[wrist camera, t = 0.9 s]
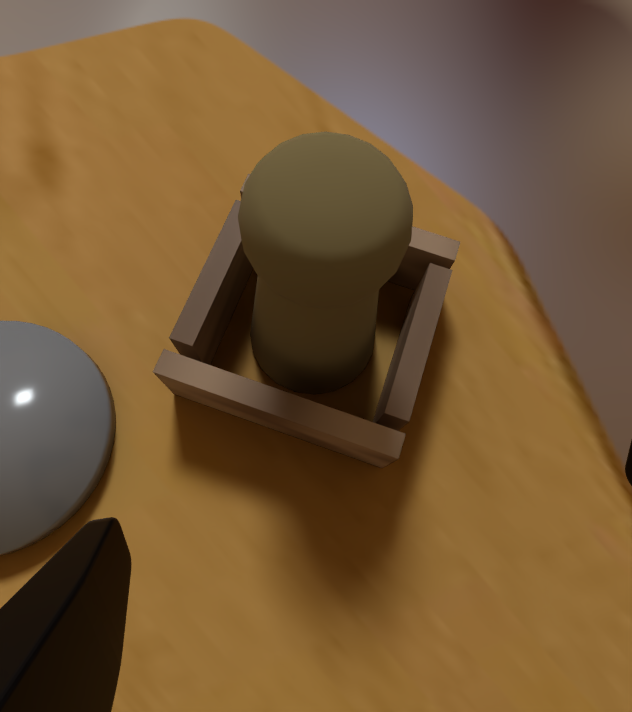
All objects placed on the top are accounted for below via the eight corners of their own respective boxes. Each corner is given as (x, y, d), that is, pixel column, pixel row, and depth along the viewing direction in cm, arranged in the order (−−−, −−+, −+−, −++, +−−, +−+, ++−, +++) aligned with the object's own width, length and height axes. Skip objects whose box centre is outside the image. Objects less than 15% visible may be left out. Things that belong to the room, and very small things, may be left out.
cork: (379, 392, 22) (455, 284, 12) (249, 395, 22) (211, 286, 12) (370, 277, 24) (429, 97, 14) (250, 278, 24) (219, 94, 14)
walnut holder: (437, 279, 24) (460, 241, 21) (381, 468, 21) (398, 458, 18) (254, 219, 25) (248, 173, 22) (173, 393, 22) (152, 371, 19)
